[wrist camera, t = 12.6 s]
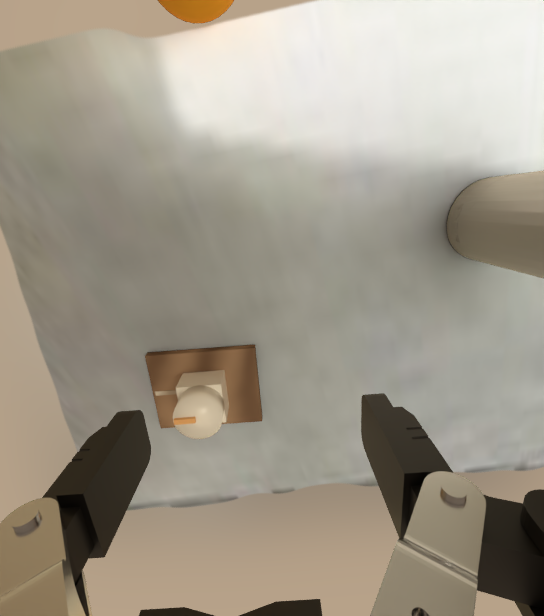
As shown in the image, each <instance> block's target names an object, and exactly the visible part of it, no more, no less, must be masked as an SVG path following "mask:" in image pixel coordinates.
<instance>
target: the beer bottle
mask: <svg viewBox="0 0 544 616" xmlns="http://www.w3.org/2000/svg"><path fill="white" fill-rule="evenodd" d="M158 1H159V3H160V4H161V5H162V6H163V7H164V8H165V9H166V10H167V11H168V12H170V13H171V14H172V15H174V16H175V17H177V18H179V19H181V20H183V21H185V22H190V23H205V22H209V21H212V20H214V19H216V18H218V17H219V16H221V15H222V14H223V13H224V12H225V11H227V9H228V8H229V7H230V6H231V4H232V3H233V1H234V0H158Z"/></svg>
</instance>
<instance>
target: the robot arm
mask: <svg viewBox="0 0 544 616" xmlns="http://www.w3.org/2000/svg"><path fill="white" fill-rule="evenodd" d="M447 234H448V238H449V241H450V243H451V245H452V247H453V248H454V249H455V250H456V251H457V252H458V253H459V254H461V255H462V256H464V257H467V258H469V259H472V260H476V261H480V262H484V263H488V264H491V265H494V266H498V267H502V268H506V269H510V270H514V271H517V272H521V273H525V274H529V275H533V276H536V277H540V278H544V171H536V172H528V173H519V174H511V175H504V176H496V177H488V178H485V179H481V180H479V181H477V182H475V183H473V184H471V185H470V186H469V187H467V188H466V189H465V190H463V192H462V193H461V194H460V195H459V196H458V197H457V199H456V200H455V202H454V203H453V205H452V207H451V209H450V212H449V215H448V220H447ZM361 433H362V441H363V445H364V449H365V452H366V454H367V457H368V459H369V462H370V464H371V467H372V469H373V472H374V475H375V477H376V480H377V482H378V485H379V487H380V490H381V492H382V495H383V498H384V500H385V503H386V505H387V508H388V510H389V513H390V515H391V518H392V520H393V523H394V525H395V528H396V531H397V533H398V536H399V540H398V541H397V543H396V546H395V548H394V551H393V554H392V557H391V560H390V562H389V565H388V568H387V571H386V573H385V576H384V579H383V582H382V584H381V587H380V590H379V593H378V595H377V598H376V601H375V604H374V606H373V609H372V612H371V615H370V616H474V609H475V601H476V593H477V590H478V591H481V592H485V593H488V594H492V595H495V596H499V597H502V598H505V599H509V600H512V601H515V603H516V605H517V607H518V608H519V610H520V612H521V614H522V615H523V616H544V490H533V491H530V492H528V493H527V494H526V495H525V498H524V502H523V504H522V503H517V502H512V501H507V500H502V499H497V498H493V497H488V496H486V495H483V494H482V492H481V491H480V490H479V489H478V487H477V486H476V485H474V484H473V483H472V482H470V481H469V480H468V479H466V478H464V477H462V476H460V475H458V474H455V473H453V471H452V470H451V469H450V467H449V466H448V464H447V463H446V461H445V460H444V458H443V457H442V455H441V454H440V453H439V451H438V450H437V448H436V447H435V445H434V444H433V442H432V441H431V440H430V438H428V435H427V434H426V432H425V431H424V429H422V426H421V425H420V424H419V422H418V421H417V419H416V418H415V416H414V415H412V414H411V413H410V412H408V411H407V410H405V409H404V408H403V407H393V406H392V405H391V403H390V401H389V400H388V398H387V396H386V395H385V394H384V393H383V394H369V395H363V396H362V417H361ZM150 455H151V445H150V441H149V436H148V432H147V428H146V424H145V419H144V415H143V413H142V411H140V410H135V411H121V412H118V413H116V415H115V416H114V417H113V419H112V420H111V421H110V423H109V424H108V425H107V427H102V428H101V429H99V430H98V431H97V432H96V433H94V434H93V435H92V436H90V437H89V438H88V439H87V441H86V442H85V443H84V445H83V446H82V447H81V448H80V451H79V452H77V454H76V455H75V456H74V457H73V459H72V462H70V463H69V464H68V465H67V466H66V468H65V469H64V470H63V472H62V473H61V474H60V476H59V477H58V478H57V479H56V481H55V482H54V483H53V484H52V486H51V487H50V488H49V490H48V491H47V492H46V493H45V495H44V496H43V497H42V498H40V499H36V500H33V501H31V502H28V503H26V504H24V505H22V506H20V507H19V508H17V509H16V510H14V511H13V512H12V513H10V514H9V515H8V516H7V517H6V518H5V519H4V520H3V521H2V522H1V523H0V616H92V612H91V607H90V602H89V596H88V591H87V586H86V581H85V575H84V573H83V570H82V569H83V568H84V566H85V563H86V562H87V560H88V558H101V557H105V555H106V553H107V551H108V549H109V546H110V544H111V542H112V540H113V538H114V536H115V534H116V532H117V529H118V527H119V525H120V523H121V521H122V519H123V517H124V514H125V512H126V510H127V508H128V506H129V504H130V502H131V500H132V497H133V495H134V493H135V491H136V489H137V487H138V485H139V483H140V480H141V478H142V476H143V474H144V472H145V470H146V468H147V465H148V463H149V460H150ZM139 616H214V615H210V614H206V613H203V612H199V611H196V610H192V609H189V608H185V607H183V608H167V609H150V610H141V612H140V615H139ZM240 616H322V611H321V603H320V599H313V600H297V601H281V602H274V603H272V604H269V605H266V606H263V607H261V608H258V609H255V610H253V611H250V612H248V613H245V614H242V615H240Z"/></svg>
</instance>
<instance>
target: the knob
mask: <svg viewBox="0 0 544 616" xmlns="http://www.w3.org/2000/svg"><path fill="white" fill-rule="evenodd" d="M176 393H177V398H178V402H177V405H176V407H175V409H174V412H173V422H174V425H175V427H176V428H177V430H178V431H179V432H180V433H182V434H183V435H185V436H187V437H190V438H194V439H204V438H208V437H210V436H212V435H214V434H215V433H216V432H217V431H218V430H219V428H220V427H221V424H222V423H225V422H226V421H227V415H228V409H229V401H228V394H227V386H226V379H225V372H224V370H217V371H205V372H193V373H183V374H182V376H181V378H180V380H179V382H178V384H177V386H176Z"/></svg>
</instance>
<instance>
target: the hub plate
mask: <svg viewBox="0 0 544 616" xmlns="http://www.w3.org/2000/svg"><path fill="white" fill-rule="evenodd" d="M145 358H146V362H147V367H148V372H149V376H150V381H151V385H152V390H153V394H154V399H155V403H156V408H157V413H158V417H159V422H160V426H161V428H170V427H175V425H174V422H173V412H174V409H175V407H176V405H177V402H178V398H177V393H176V386H177V384H178V382H179V380H180V378H181V376H182V374H183V373H193V372H205V371H217V370H224V372H225V379H226V386H227V394H228V401H229V409H228V415H227V421H226V422H225V423H222V424H227V423H241V422H256V421H262V409H261V399H260V389H259V379H258V369H257V359H256V350H255V345H245V346H231V347H217V348H204V349H190V350H177V351H163V352H150V353H147V354H146V356H145Z"/></svg>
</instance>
